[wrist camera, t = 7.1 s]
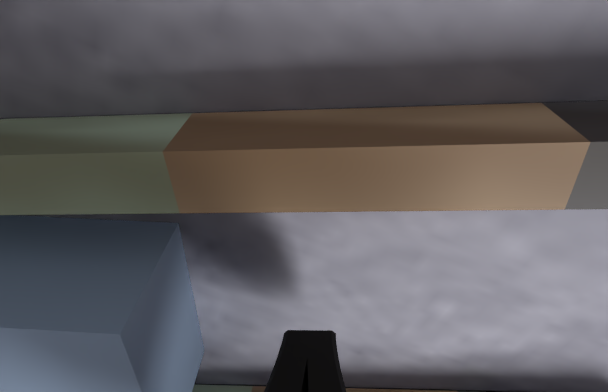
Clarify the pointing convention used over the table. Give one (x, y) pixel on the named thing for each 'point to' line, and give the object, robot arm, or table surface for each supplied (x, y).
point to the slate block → (95, 307)
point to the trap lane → (309, 163)
